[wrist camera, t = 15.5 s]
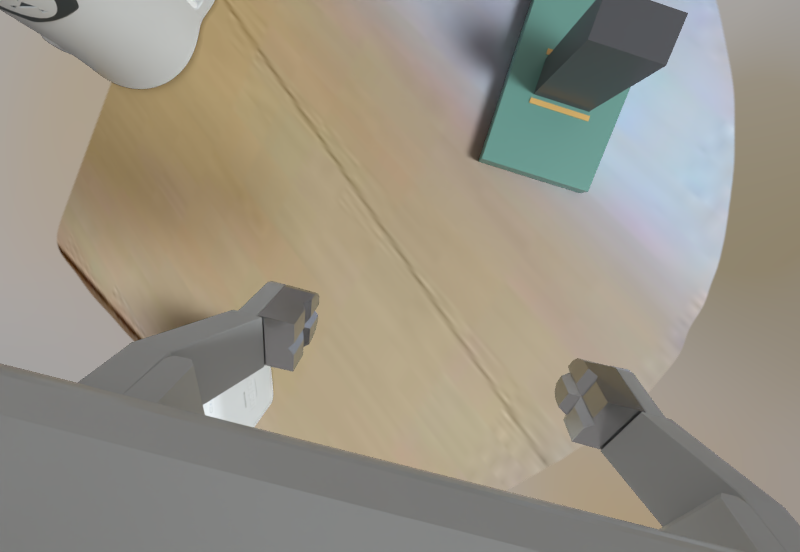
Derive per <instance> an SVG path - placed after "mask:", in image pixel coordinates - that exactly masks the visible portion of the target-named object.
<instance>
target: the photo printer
mask: <svg viewBox="0 0 800 552" xmlns="http://www.w3.org/2000/svg"><path fill="white" fill-rule="evenodd" d="M272 400H273V383H272V373H271V366H266V365H264V367H263V368H262V369H260V370H258V371H257V372H255V373H254V374H252V375H250V376H249V377H247V378H246V379H244V380H242V381H241V382H239V383H238V384H236V385H234V386H233V387H231V388H229V389H228V390H226V391H225V392H223V393H221V394H220V395H218V396H217V397H215V398H213V399H212V400H210V401H209V402H207V403H205V404H204V405H203V408H204V412H205V415H206V416H210V417H214V418H218V419H222V420H226V421H230V422H234V423H238V424H242V425H246V426H250V427H255V425H256V424H257V423H258V421H259V420H260V418H261V417H262V416H263V414H264V413H265V412H266V410H267V409H268V407H269V406H270V404H271V403H272Z"/></svg>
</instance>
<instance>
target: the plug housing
mask: <svg viewBox="0 0 800 552" xmlns="http://www.w3.org/2000/svg"><path fill="white" fill-rule="evenodd" d="M687 14H688V13H686V12H683V11H680V10H677V9H674V8H671V7H668V6H665V5H662V4H659V3H656V2H653V1H650V0H595V1H594V3H593V4H592V5H591V6H590V7H589V8H588V10H587V11H586V12H585V13H584V14H583V16H582V17H581V18H580V19H579V20H578V21H577V23H576V24H575V25H574V26H573V27H572V28H571V30H570V31H569V32H568V33H567V34H566V35H565V37H564V38H563V39H562V40H561V41H560V43H559V44H558V45H557V46H556V47H555V48H554V50H553V51H552V52H551V53H550V54H549V55H548V57H547V58H546V60H545V63H544V66H543V69H542V72H541V74H540V77H539V80H538V83H537V86H536V89H535V92H534V94H535V95H538V96H541V97H544V98H547V99H550V100H553V101H556V102H560V103H563V104H566V105H569V106H572V107H575V108H578V109H581V110H584V111H588V112H590V111H591V110H593V109H595V108H596V107H598V106H599V105H601V104H603V103H604V102H606V101H608V100H609V99H611V98H613V97H614V96H616V95H618V94H619V93H621V92H623V91H624V90H626V89H628V88H629V87H631V86H633V85H634V84H636V83H638V82H639V81H641V80H643V79H644V78H646V77H648V76H649V75H651V74H653V73H654V72H656V71H658V70H659V69H661V68H662V67H664V66H666V64H667V62H668V59H669V57H670V55H671V52H672V50H673V48H674V45H675V43H676V40H677V38H678V36H679V33H680V31H681V29H682V26H683V24H684V21H685V19H686V17H687Z"/></svg>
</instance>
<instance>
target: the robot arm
mask: <svg viewBox="0 0 800 552" xmlns="http://www.w3.org/2000/svg"><path fill="white" fill-rule="evenodd" d="M214 1H215V0H0V10H2V11H3V12H5V13H7V14H8V15H10V16H11V17H13V18H15V19H16V20H18V21H20V22H21V23H23V24H25V25H26V26H28V27H29V28H31V29H33V30H34V31H36V32H37V33H40V34H41V36H42V37H43V38H44V39H45V40H46V41H47V42H48V43H50V44H51V45H53V46H55V47H56V48H58V49H60V50H62V51H64V52H67V53H69V54H72V55H74V56H75V57H77V58H78V59H80V60H81V61H82V62H84V63H85V64H86V65H88V66H89V67H90V68H92V69H93V70H94V71H96V72H97V73H98V74H100V75H101V76H102V77H104V78H106V79H107V80H109V81H111V82H113V83H115V84H117V85H120V86H123V87H127V88H133V89H148V88H153V87H157V86H160V85H162V84H165V83H167V82H168V81H170V80H172V79H173V78H174V77H176V76H177V75H178V74H179V73H180V72H181V71H182V70H183V69H184V67H185V66H186V65H187V63H188V62H189V60H190V58H191V56H192V54H193V52H194V49H195V46H196V43H197V39H198V34H199V30H200V26H201V22H202V20H203V18H204V17H205V15H206V14H207V12H208V11H209V10H210V8H211V6H212V5H213V3H214ZM318 305H319V295H318V293H315V292H311V291H308V290H304V289H300V288H297V287H293V286H289V285H285V284H281V283H277V282H274V281H270V282H267V283H266V284H265V285H264V286H263V287H262V288H261V289H260V290H259V291H258V292H257V293H256V294H255V295H254V296H253V297H252V298H251V299H250V300H249V301H248V302H247V303H246V304H245V305H244V306H243V307H242V308H240V309H239V310H238V311H236V310H231V311H228V312H225V313H222V314H218V315H215V316H212V317H209V318H206V319H203V320H200V321H197V322H194V323H191V324H187V325H184V326H181V327H178V328H175V329H172V330H169V331H166V332H163V333H160V334H157V335H153V336H150V337H147V338H144V339H141V340H138V341H135V342H132V343H130V344H129V345H128V346H126V347H125V348H124V349H122V350H121V351H120V352H118V353H117V354H116V355H114V356H113V357H111V358H110V359H109V360H107V361H106V362H105V363H104V364H102V365H101V366H99V367H98V368H97V369H95V370H94V371H93V372H91V373H90V374H89V375H87V376H86V377H85V378H83V379H82V380H80V381H79V382H78V383H76V382H72V381H68V380H64V379H60V378H56V377H52V376H48V375H44V374H40V373H36V372H32V371H28V370H24V369H20V368H16V367H12V366H8V365H4V364H0V552H800V525H799V524H798V523H797V522H796V521H795V519H794V518H793V517H792V516H791V515H790V514H789V512H788V511H787V510H786V509H785V508H784V507H783V506H782V505H781V504H779V503H778V502H777V501H775V500H774V499H773V498H772V497H770V496H769V495H768V494H766V493H765V492H764V491H763V490H761V489H760V488H759V487H757V486H756V485H755V484H753V483H752V482H751V481H750V480H748V479H747V478H746V477H745V476H743V475H742V474H741V473H739V472H738V471H737V470H736V469H734V468H733V467H732V466H730V465H729V464H728V463H727V462H725V461H724V460H723V459H721V458H720V457H719V456H718V455H716V454H715V453H714V452H712V451H711V450H710V449H708V448H707V447H706V446H705V445H703V444H702V443H701V442H700V441H698V440H697V439H696V438H694V437H693V436H692V435H691V434H689V433H688V432H687V431H685V430H684V429H683V428H682V427H680V426H679V425H678V424H676V423H675V422H674V421H673V420H671V419H668V418H665V416H664V415H663V413H662V412H661V411H660V409H659V408H658V407H657V405H656V404H655V403H654V401H653V400H652V398H651V397H650V396H649V394H648V393H647V392H646V390H645V389H644V387H643V386H642V385H641V383H640V382H639V381H638V379H637V378H636V376H635V375H634V374H633V373H632V372H630V371H629V370H627V369H623V368H618V367H614V366H607V365H603V364H599V363H595V362H591V361H587V360H583V359H579V358H577V359H575V360H573V361H572V362H571V364H570V365H569V366H568V368H569V372H570V373H567V374H565V375H563V376H561V377H560V379H559V380H558V382H557V383H556V388H555V398H556V402H557V404H558V407H559V408H560V409H561V410H562V411H563V412H564V413H565V414H566V415H565V418H564V422H565V425H566V428H567V430H568V433H569V435H570V438H571V440H572V442H576V443H579V444H583V445H587V446H590V447H594V448H597V449H601V452H602V453H603V454H604V456H605V457H606V458H607V459H608V461H609V462H610V463H611V464H612V465H613V467H614V468H615V469H616V470H617V472H618V473H619V474H620V475H621V476H622V478H623V479H624V480H625V481H626V482H627V484H628V485H629V486H630V487H631V489H632V490H633V491H634V492H635V493H636V495H637V496H638V497H639V498H640V500H641V501H642V502H643V503H644V504H645V506H646V507H647V508H648V509H649V510H650V512H651V513H652V514H653V515H654V517H655V518H656V519H657V520H658V521H659V522H660V524H661V525H662V526H663V527H662V528H661V529H659V530H658V529H654V528H650V527H646V526H643V525H639V524H634V523H631V522H627V521H622V520H619V519H615V518H610V517H607V516H603V515H598V514H595V513H591V512H587V511H583V510H579V509H575V508H571V507H567V506H562V505H559V504H555V503H551V502H547V501H543V500H539V499H535V498H531V497H527V496H523V495H519V494H515V493H511V492H507V491H503V490H499V489H495V488H491V487H487V486H483V485H479V484H475V483H471V482H468V481H464V480H460V479H456V478H452V477H448V476H444V475H440V474H436V473H432V472H428V471H424V470H420V469H416V468H412V467H408V466H404V465H400V464H396V463H392V462H388V461H385V460H381V459H377V458H373V457H369V456H365V455H361V454H357V453H353V452H349V451H345V450H341V449H337V448H333V447H329V446H325V445H321V444H317V443H313V442H309V441H305V440H301V439H297V438H293V437H289V436H285V435H282V434H278V433H274V432H270V431H266V430H262V429H258V428H254V427H250V426H246V425H242V424H238V423H234V422H230V421H226V420H222V419H218V418H214V417H210V416H206V415H205V412H204V408H203V405H204V404H205V403H207V402H209V401H210V400H212V399H213V398H215V397H217V396H218V395H220V394H221V393H223V392H225V391H226V390H228V389H229V388H231V387H233V386H234V385H236V384H238V383H239V382H241V381H242V380H244V379H246V378H247V377H249V376H250V375H252V374H254V373H255V372H257V371H258V370H260V369H262V368H263V367H264V365H266V366H271V367H275V368H280V369H284V370H289V371H294V369H295V368H296V366H297V364H298V362H299V361H300V359H301V357H302V356H303V347H304V346H306V345H308V344H309V343H310V341H311V340H312V338H313V335H314V333H315V330H316V326H317V321H318V315H317V313H316V312H315V310H316V308H317V307H318Z"/></svg>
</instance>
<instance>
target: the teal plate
mask: <svg viewBox="0 0 800 552" xmlns="http://www.w3.org/2000/svg"><path fill="white" fill-rule="evenodd" d="M594 1H595V0H532V1H531V4H530V7H529V10H528V13H527V16H526V19H525V22H524V25H523V28H522V31H521V34H520V37H519V40H518V43H517V46H516V49H515V52H514V55H513V58H512V61H511V64H510V67H509V70H508V73H507V76H506V79H505V82H504V85H503V88H502V91H501V95H500V98H499V101H498V104H497V107H496V110H495V113H494V116H493V119H492V122H491V125H490V128H489V131H488V134H487V137H486V140H485V143H484V146H483V149H482V152H481V155H480V158H479V162H482V163H485V164H488V165H492V166H495V167H498V168H501V169H504V170H508V171H511V172H514V173H517V174H520V175H524V176H527V177H530V178H533V179H536V180H540V181H543V182H546V183H549V184H552V185H556V186H559V187H562V188H565V189H568V190H572V191H575V192H578V193H583V192H588V190H589V188H590V185H591V183H592V180H593V178H594V175H595V173H596V170H597V168H598V166H599V163H600V161H601V158H602V156H603V153H604V151H605V148H606V146H607V143H608V141H609V138H610V136H611V134H612V131H613V129H614V126H615V124H616V121H617V119H618V116H619V114H620V111H621V109H622V106H623V104H624V102H625V99H626V97H627V94H628V92H629V89H630V87H629V88H628V89H626V90H624V91H623V92H621V93H619V94H618V95H616V96H614V97H613V98H611V99H609V100H608V101H606V102H604V103H603V104H601V105H599V106H598V107H596V108H595V109H593V110H591V111H590V112H588V111H584V110H581V109H578V108H575V107H572V106H569V105H566V104H563V103H560V102H556V101H553V100H550V99H547V98H544V97H541V96H538V95H535V94H534V92H535V89H536V86H537V83H538V80H539V77H540V74H541V72H542V69H543V66H544V63H545V60H546V58H547V57H548V55H549V54H550V53H551V52H552V51H553V50H554V48H555V47H556V46H557V45H558V44H559V43H560V41H561V40H562V39H563V38H564V37H565V35H566V34H567V33H568V32H569V31H570V30H571V28H572V27H573V26H574V25H575V24H576V23H577V21H578V20H579V19H580V18H581V17H582V16H583V14H584V13H585V12H586V11H587V10H588V8H589V7H590V6H591V5H592V4H593V3H594Z"/></svg>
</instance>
